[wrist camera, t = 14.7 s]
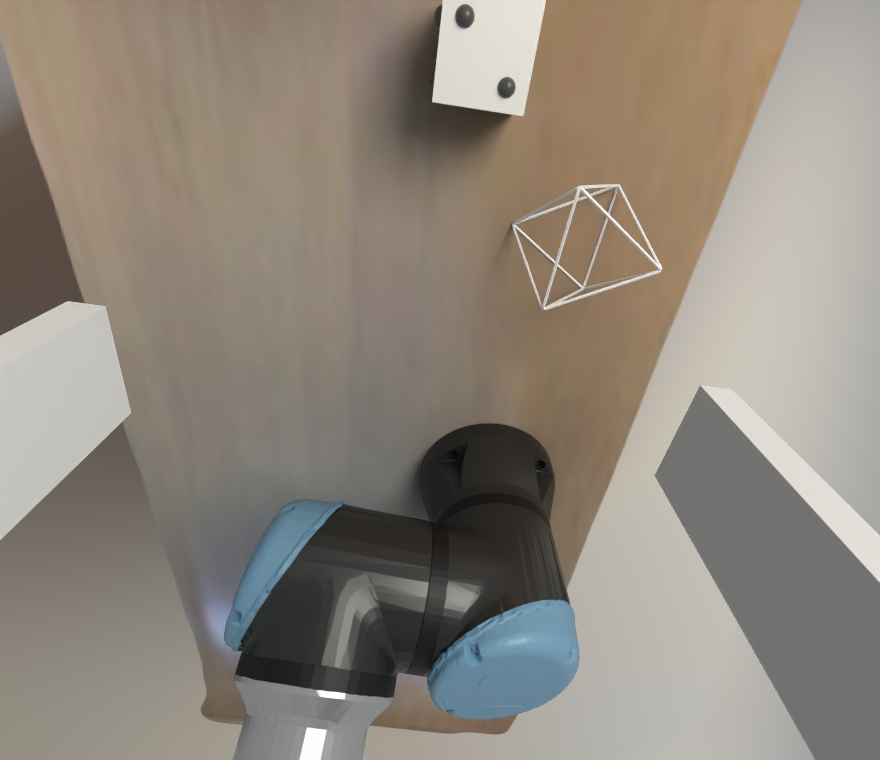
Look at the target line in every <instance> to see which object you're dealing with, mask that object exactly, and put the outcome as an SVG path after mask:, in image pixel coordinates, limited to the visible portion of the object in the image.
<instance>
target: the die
mask: <svg viewBox="0 0 880 760" xmlns="http://www.w3.org/2000/svg"><path fill="white" fill-rule="evenodd" d="M545 3H546V0H443V5H440V6H439V7H438V8H437V9H436V12H435V22H436V24H437V26H438V27H440V33H439V40H438V41H436V42H435V43H434V45H433V47H432V54H433V57H434V58H435V59H436V70H435V71H434V72H433V73H432V74H431V76H430V84H431V86H432V87H433V98H432V102H434V103H439V104H446V105H452V106H458V107H465V108H471V109H477V110H484V111H490V112H497V113H503V114H509V115H517V116H523V115H524V110H525V105H526V100H527V95H528V89H529V84H530V79H531V74H532V69H533V64H534V59H535V54H536V49H537V44H538V39H539V34H540V28H541V23H542V18H543V13H544V8H545Z"/></svg>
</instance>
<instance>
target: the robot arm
mask: <svg viewBox="0 0 880 760" xmlns="http://www.w3.org/2000/svg"><path fill="white" fill-rule="evenodd" d="M130 414H131V410H130V406H129V402H128V398H127V394H126V389H125V385H124V381H123V377H122V373H121V369H120V365H119V360H118V356H117V352H116V348H115V344H114V340H113V336H112V331H111V327H110V323H109V319H108V315H107V311H106V307H105V306H99V305H92V304H84V303H77V302H69V301H67V302H65V303H63V304H61V305H60V306H58V307H56V308H54V309H52V310H50V311H48V312H46V313H44V314H42V315H40V316H38V317H36V318H34V319H32V320H30V321H28V322H27V323H24V324H23V325H21V326H19V327H17V328H15V329H13V330H11V331H9V332H7V333H5V334H3V335H1V336H0V540H1V539H2V538H3V537H4V536H5V535H6V534H7V533H8V532H9V531H10V530H11V529H12V528H13V527H14V526H15V525H16V524H17V523H18V522H19V521H20V520H21V519H22V518H23V517H24V516H26V514H28V513H29V512H30V511H31V510H32V509H33V508H34V507H35V506H36V505H37V504H38V503H39V502H40V501H41V500H42V499H43V498H44V497H45V496H46V495H47V494H48V493H49V492H50V491H51V490H52V489H53V488H54V487H55V486H56V485H57V484H58V483H60V482H61V481H62V480H63V479H64V478H65V476H67V475H68V474H69V473H70V472H71V471H72V470H73V469H74V468H75V467H76V466H77V465H78V464H79V463H80V462H81V461H82V460H83V459H84V458H85V457H86V456H87V455H88V454H89V453H90V452H91V451H92V450H93V449H95V448H96V447H97V446H98V445H99V444H100V443H101V442H102V441H103V440H104V439H105V438H106V437H107V436H108V435H109V434H110V433H111V432H112V431H113V430H114V429H115V428H116V427H117V426H118V425H119V424H120V423H121V422H122V421H123V420H124V419H125V418H126V417H128V416H129V415H130ZM655 477H656V479H657V480H658V482H659V484H660V485H661V487H662V489H663V491H664V493H665V495H666V496H667V498H668V500H669V502H670V503H671V505H672V507H673V509H674V510H675V512H676V514H677V516H678V517H679V519H680V521H681V523H682V525H683V526H684V528H685V530H686V532H687V533H688V535H689V537H690V539H691V541H692V542H693V544H694V546H695V548H696V549H697V551H698V553H699V555H700V556H701V558H702V560H703V562H704V563H705V565H706V567H707V569H708V571H709V572H710V574H711V576H712V578H713V580H714V581H715V583H716V585H717V586H718V588H719V590H720V592H721V593H722V595H723V597H724V599H725V601H726V602H727V604H728V606H729V608H730V609H731V611H732V613H733V615H734V617H735V618H736V620H737V622H738V624H739V626H740V627H741V629H742V631H743V632H744V634H745V636H746V638H747V640H748V642H749V643H750V645H751V647H752V649H753V650H754V652H755V654H756V655H757V657H758V659H759V661H760V663H761V664H762V666H763V668H764V670H765V672H766V673H767V675H768V677H769V679H770V680H771V682H772V684H773V686H774V687H775V689H776V691H777V693H778V695H779V696H780V698H781V700H782V702H783V703H784V705H785V707H786V709H787V710H788V712H789V714H790V716H791V718H792V719H793V721H794V723H795V725H796V726H797V728H798V730H799V732H800V733H801V735H802V737H803V739H804V741H805V742H806V744H807V746H808V748H809V749H810V751H811V753H812V755H813V757H814V758H815V760H880V536H879V535H878V534H877V533H876V532H875V531H874V530H873V529H872V528H871V527H870V526H869V525H868V524H867V523H866V522H865V521H864V520H863V519H862V518H861V517H860V516H859V515H858V514H857V513H856V512H855V511H854V510H853V509H852V508H851V507H850V506H849V505H848V504H847V503H846V502H845V501H844V500H843V499H842V498H841V497H840V496H839V495H838V494H837V493H836V492H835V491H834V490H833V489H832V488H831V487H830V486H829V485H828V484H827V483H826V482H825V481H824V480H823V479H822V478H821V477H820V476H819V475H818V474H817V473H816V472H815V471H814V470H813V469H812V468H811V467H810V466H809V465H808V464H807V463H805V461H804V460H803V459H802V458H800V456H799V455H798V454H797V453H796V452H795V451H794V450H793V449H792V448H791V447H790V446H789V445H788V444H787V443H786V442H785V441H784V440H782V438H780V436H778V435H777V434H776V433H775V432H774V431H773V430H772V429H771V428H770V427H769V426H768V425H767V424H766V423H765V422H764V421H763V420H762V419H761V418H760V417H759V416H758V415H757V414H756V413H755V412H754V411H753V410H752V409H751V408H750V407H749V406H748V405H747V404H746V403H745V402H744V401H743V400H742V399H741V398H740V397H739V396H738V395H737V394H736V393H735V392H734V391H733V390H732V389H724V388H716V387H708V386H700V387H699V389H698V391H697V393H696V395H695V397H694V399H693V401H692V403H691V405H690V407H689V409H688V411H687V413H686V415H685V417H684V419H683V421H682V423H681V425H680V426H679V429H678V430H677V432H676V434H675V436H674V438H673V440H672V442H671V445H670V446H669V448H668V450H667V452H666V455H665V457H664V458H663V460H662V463H661V464H660V466H659V468H658V470H657V472H656V474H655ZM554 490H555V478H554V472H553V469H552V465H551V462H550V459H549V456H548V454H547V452H546V450H545V449H544V447H543V446H542V445H541V444H540V443H539V442H538V441H537V440H536V439H535V438H533V437H532V436H531V435H529V434H527V433H526V432H524V431H522V430H519V429H517V428H514V427H510V426H506V425H501V424H477V425H471V426H467V427H463V428H460V429H458V430H455V431H453V432H451V433H449V434H447V435H446V436H444V437H443V438H441V439H440V440H439V441H438V442H437V443H435V444H434V445H433V447H432V448H431V449H430V450H429V452H428V453H427V455H426V457H425V459H424V461H423V464H422V468H421V478H420V491H421V497H422V501H423V503H424V506H425V508H426V511H427V514H428V516H429V519H430V521H431V522H430V521H425V520H420V519H415V518H410V517H405V516H400V515H395V514H389V513H384V512H379V511H374V510H369V509H364V508H359V507H354V506H348V505H346V503H345V502H337V503H331V502H324V501H317V500H310V499H299V500H295V501H293V502H291V503H289V504H287V505H286V506H285V507H284V508H282V509H281V510H280V512H279V513H278V514H277V515H276V517H275V518H274V519H273V520H272V522H271V523H270V525H269V526H268V528H267V530H266V531H265V533H264V535H263V536H262V538H261V540H260V542H259V544H258V545H257V547H256V549H255V551H254V553H253V555H252V557H251V559H250V562H249V564H248V566H247V568H246V570H245V573H244V575H243V577H242V579H241V582H240V584H239V587H238V589H237V592H236V595H235V597H234V600H233V607H232V610H231V612H230V615H229V617H228V620H227V622H226V626H225V633H224V640H225V643H226V644H227V645H228V646H230V647H231V648H232V649H233V651H241V650H242V653H241V656H240V660H239V663H238V666H237V669H236V673H235V676H234V679H233V680H234V682H235V684H236V686H237V688H238V690H239V692H240V694H241V696H242V698H243V700H244V702H245V706H246V716H245V719H244V723H243V726H242V730H241V733H240V737H239V740H238V744H237V747H236V751H235V754H234V757H233V760H362V758H363V752H364V746H365V740H366V734H367V729H368V727H369V726H370V724H371V723H372V721H373V720H374V719H375V718H376V717H377V716H378V715H380V714H381V713H382V712H383V711H384V710H385V709H386V708H387V707H388V706H389V705H390V704H391V703H392V702H393V697H394V691H395V684H396V677H397V674H398V673H405V674H411V675H417V676H424V677H428V678H427V685H428V690H429V692H430V694H431V698H432V700H433V702H434V703H435V705H436V706H437V707H438V708H440V709H441V710H446V711H447V712H448V713H449V714H450V715H453V716H456V717H460V718H467V719H495V718H502V717H507V716H512V715H516V714H519V713H523V712H526V711H529V710H531V709H533V708H536V707H539V706H541V705H543V704H545V703H547V702H548V701H550V700H551V699H553V698H555V697H556V696H557V695H558V694H560V693H561V692H562V691H563V690H564V689H565V688H566V687H567V686H568V685H569V683H570V682H571V681H572V679H573V678H574V676H575V673H576V671H577V669H578V664H579V646H578V640H577V634H576V628H575V615H574V610H573V608H572V607H571V605H570V601H569V597H568V594H567V590H566V586H565V582H564V578H563V574H562V570H561V566H560V563H559V559H558V555H557V551H556V547H555V543H554V539H553V535H552V532H551V528H550V523H549V521H550V515H551V508H552V502H553V496H554Z"/></svg>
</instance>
